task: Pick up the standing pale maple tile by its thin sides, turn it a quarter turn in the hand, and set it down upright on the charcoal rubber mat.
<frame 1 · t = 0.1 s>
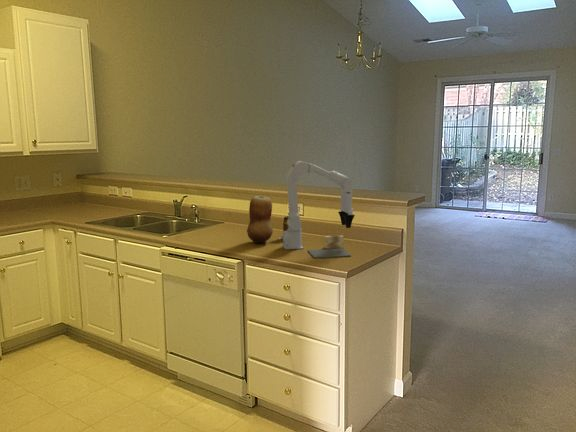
hand: (346, 226, 254), 10 cm above the counter, tool pointing down, fingers open, 7 cm apart
condiment: (287, 238, 273), on the counter
butternut squash: (260, 242, 263), on the counter
tile: (334, 247, 251), on the counter
mat: (328, 253, 239), on the counter
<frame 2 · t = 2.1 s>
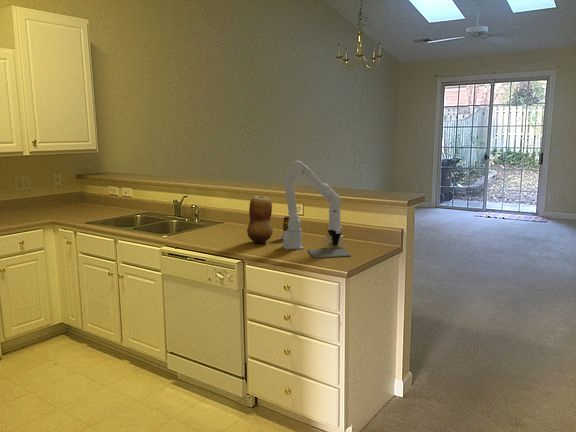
hand: (334, 244, 251), 1 cm above the counter, tool pointing down, fingers closed on tile, 3 cm apart
tile: (334, 247, 251), on the counter, touching gripper
everything else where it was.
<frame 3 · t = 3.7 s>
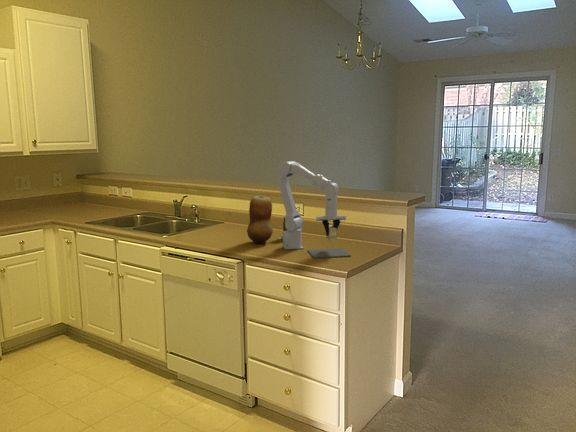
hand: (330, 235, 241), 8 cm above the counter, tool pointing down, fingers closed on tile, 3 cm apart
tile: (331, 238, 241), point 7 cm above the counter, touching gripper
everything else where it was.
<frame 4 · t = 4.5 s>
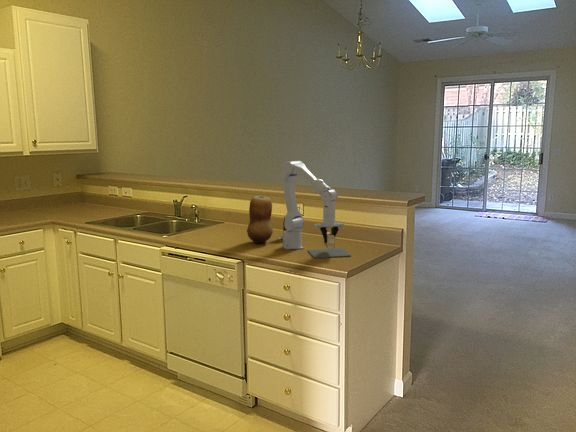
hand: (329, 242, 238), 6 cm above the counter, tool pointing down, fingers closed on tile, 3 cm apart
tile: (329, 246, 238), point 4 cm above the counter, touching gripper
everything else where it was.
when the fingers open (3 cm above the counter, at t = 5.3 s): tile stays where it is, resting on mat.
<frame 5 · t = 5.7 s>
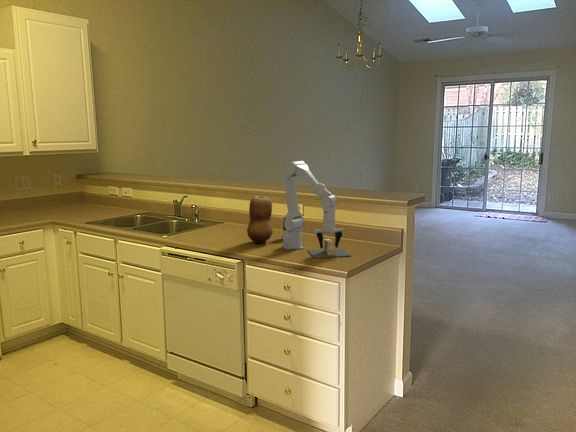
hand: (328, 247, 238), 3 cm above the counter, tool pointing down, fingers open, 7 cm apart
tile: (328, 252, 238), point 1 cm above the counter, touching mat
everything else where it was.
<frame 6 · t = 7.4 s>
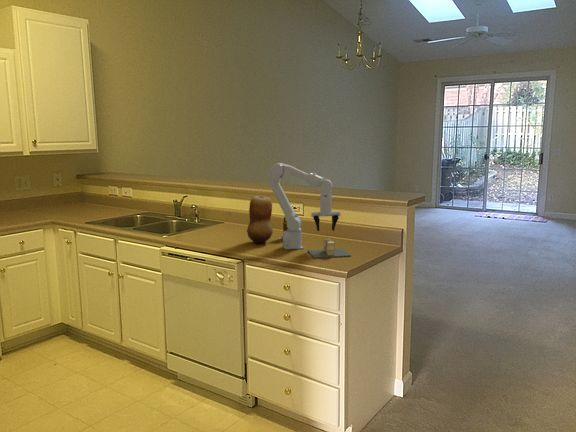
hand: (325, 230, 248), 9 cm above the counter, tool pointing down, fingers open, 7 cm apart
nothing on the counter moved.
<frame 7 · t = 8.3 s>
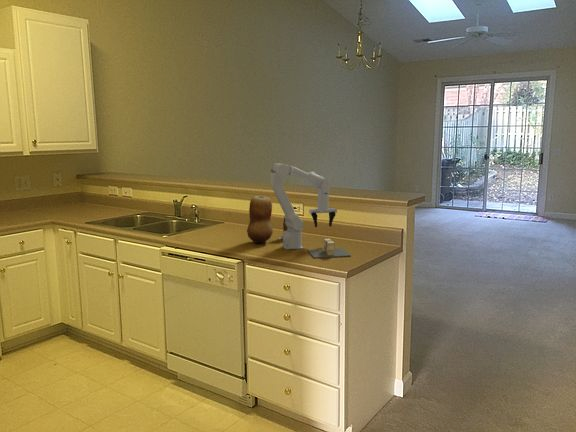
hand: (323, 226, 257), 9 cm above the counter, tool pointing down, fingers open, 7 cm apart
nothing on the counter moved.
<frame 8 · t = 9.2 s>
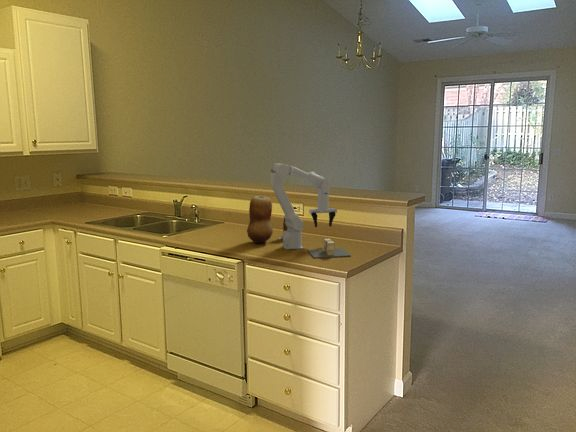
hand: (323, 226, 257), 9 cm above the counter, tool pointing down, fingers open, 7 cm apart
nothing on the counter moved.
at the end: tile inside the target area on the mat (0.5 cm from its centre), point 0.6 cm above the mat's base; tile tilted 0°; the gripper is holding nothing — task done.
